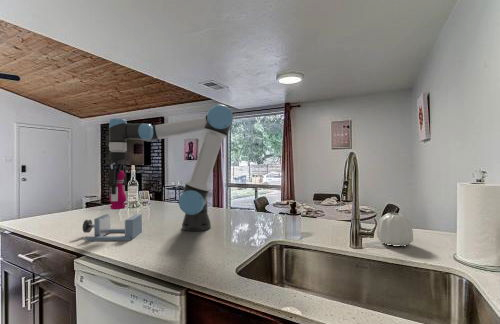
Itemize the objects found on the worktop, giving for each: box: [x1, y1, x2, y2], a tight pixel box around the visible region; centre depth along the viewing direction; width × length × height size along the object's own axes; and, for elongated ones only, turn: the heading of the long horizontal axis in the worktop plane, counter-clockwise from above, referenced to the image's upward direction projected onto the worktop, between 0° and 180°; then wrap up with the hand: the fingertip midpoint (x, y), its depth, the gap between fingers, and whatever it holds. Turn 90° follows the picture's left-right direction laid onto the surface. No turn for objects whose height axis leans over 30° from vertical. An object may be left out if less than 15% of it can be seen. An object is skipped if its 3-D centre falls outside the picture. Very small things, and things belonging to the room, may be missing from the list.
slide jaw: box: [82, 214, 111, 237], centre depth 131 cm, size 9×10×9 cm
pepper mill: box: [108, 170, 127, 210], centre depth 131 cm, size 7×7×20 cm
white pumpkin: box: [376, 212, 414, 246], centre depth 119 cm, size 14×14×13 cm
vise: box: [85, 213, 143, 242], centre depth 131 cm, size 20×15×9 cm
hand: (118, 199), depth 131 cm, fingers closed on pepper mill, 7 cm apart
